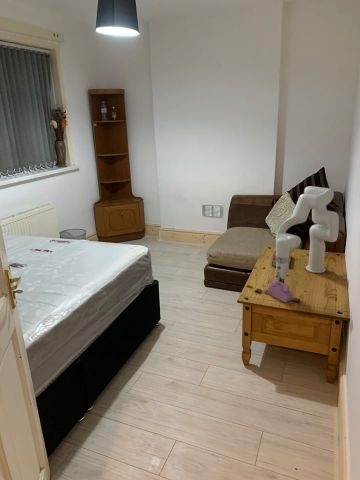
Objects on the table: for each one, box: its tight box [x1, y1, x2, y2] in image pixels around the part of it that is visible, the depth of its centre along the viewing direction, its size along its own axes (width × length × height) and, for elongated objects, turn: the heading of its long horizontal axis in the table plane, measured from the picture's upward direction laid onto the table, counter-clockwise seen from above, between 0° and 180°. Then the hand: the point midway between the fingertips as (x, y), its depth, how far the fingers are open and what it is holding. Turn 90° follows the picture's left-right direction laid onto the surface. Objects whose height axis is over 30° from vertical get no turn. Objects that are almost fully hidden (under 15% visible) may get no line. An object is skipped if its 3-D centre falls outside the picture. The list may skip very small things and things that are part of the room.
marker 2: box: [292, 297, 301, 304], centre depth 204 cm, size 3×3×1 cm
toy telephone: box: [264, 279, 293, 303], centre depth 209 cm, size 18×6×10 cm, turn 32°
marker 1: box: [254, 288, 263, 294], centre depth 216 cm, size 3×3×1 cm
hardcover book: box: [271, 249, 292, 269], centre depth 257 cm, size 12×21×4 cm, turn 162°
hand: (280, 286), depth 212 cm, fingers closed
